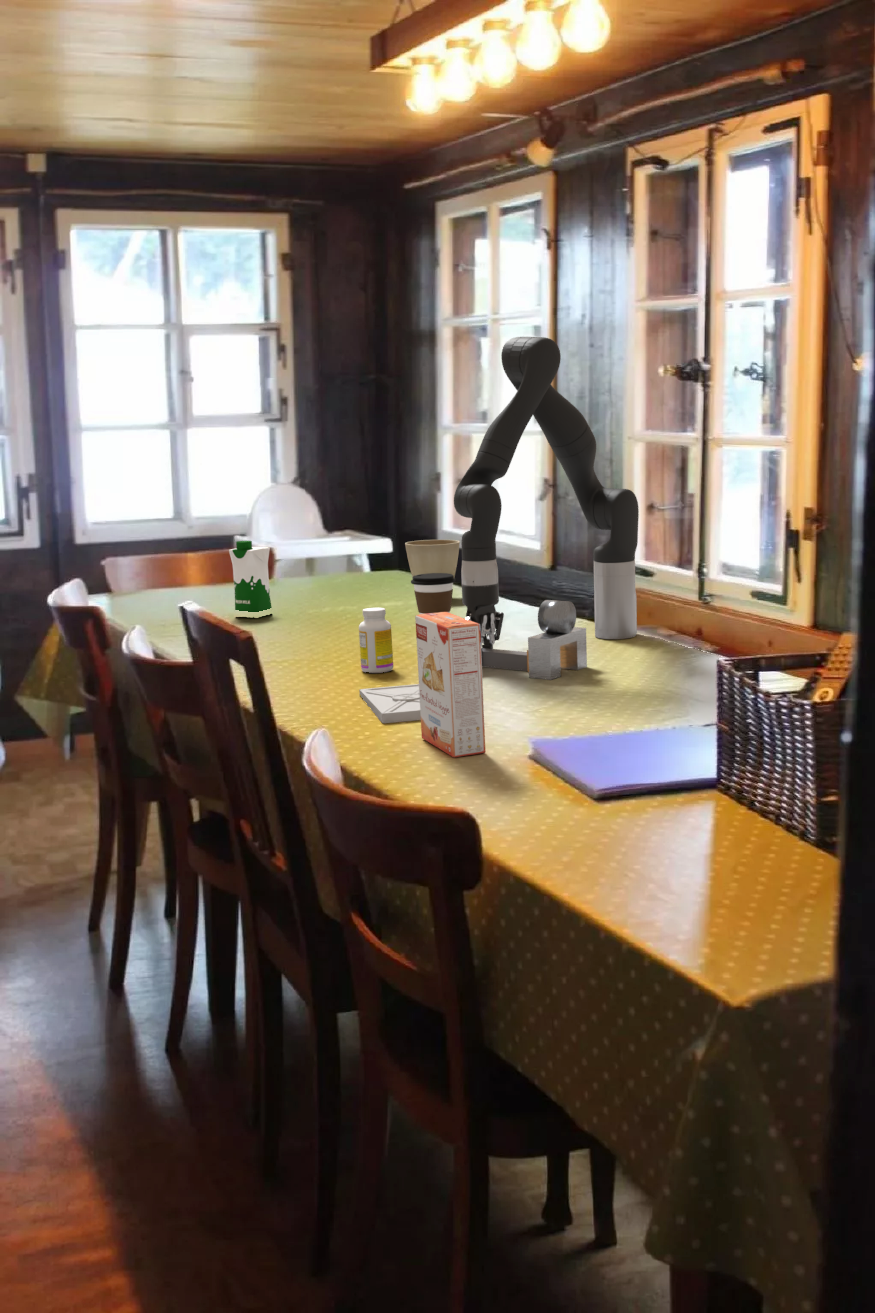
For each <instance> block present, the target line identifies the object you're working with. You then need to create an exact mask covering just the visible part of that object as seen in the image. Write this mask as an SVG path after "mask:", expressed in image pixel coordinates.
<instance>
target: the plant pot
mask: <svg viewBox="0 0 875 1313" xmlns="http://www.w3.org/2000/svg"><path fill="white" fill-rule="evenodd" d="M460 543H461V542H460V540H456V539H423V540H422V539H421V540H414V541H413V540H412V541H407V542H405V543H404V545H405V551H406V556H407V560H408V565H409V569H410V573H411V577H413V576H415V575H419V574H428V573H448V574H452V575H454V577H455V576H456V572H457V567H458V566H457V565H458V561H459V560H458V558H459V552H460Z"/></svg>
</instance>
